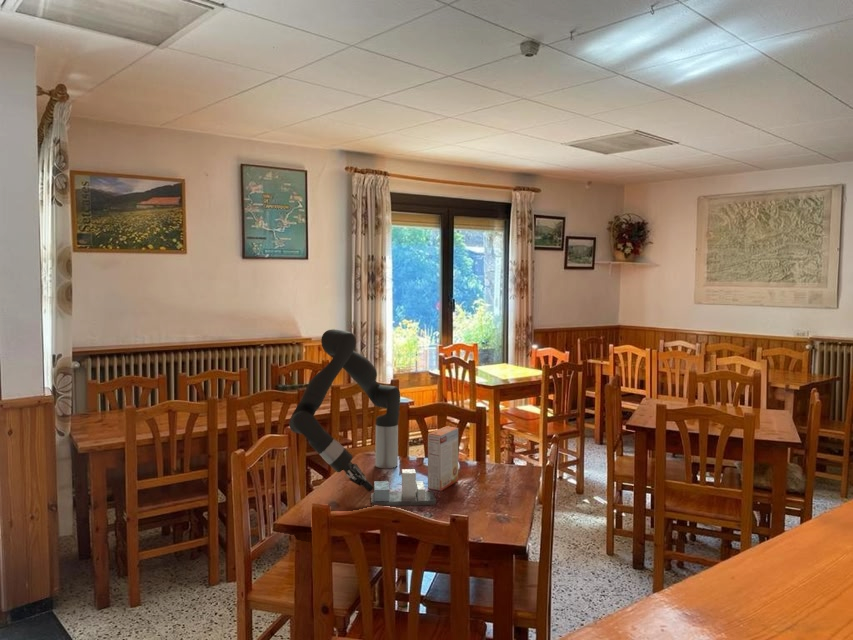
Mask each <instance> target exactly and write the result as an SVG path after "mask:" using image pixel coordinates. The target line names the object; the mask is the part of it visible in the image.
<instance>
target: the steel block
mask: <svg viewBox="0 0 853 640" xmlns="http://www.w3.org/2000/svg"><path fill="white" fill-rule="evenodd" d="M416 481H417V473H416V469H415V468H407V469H406V468H405V469H403V468H402V469H401V492H402V499H416Z"/></svg>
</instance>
